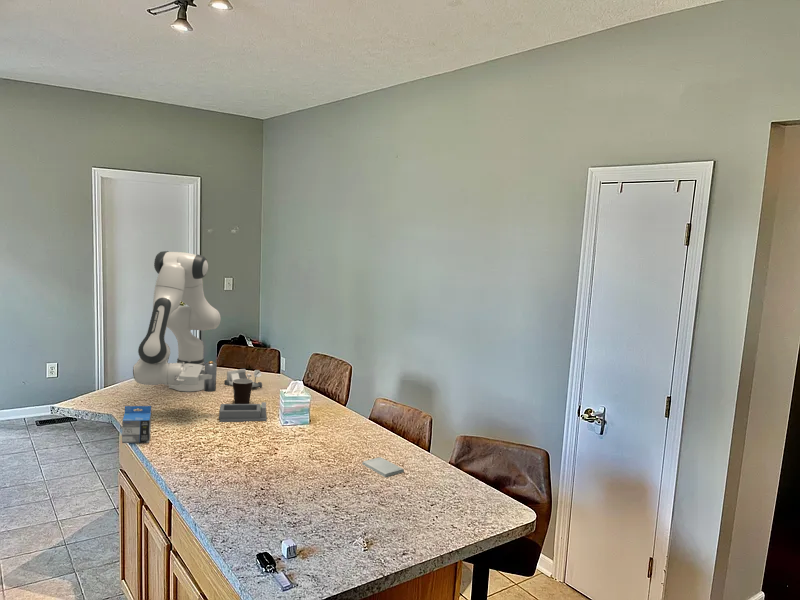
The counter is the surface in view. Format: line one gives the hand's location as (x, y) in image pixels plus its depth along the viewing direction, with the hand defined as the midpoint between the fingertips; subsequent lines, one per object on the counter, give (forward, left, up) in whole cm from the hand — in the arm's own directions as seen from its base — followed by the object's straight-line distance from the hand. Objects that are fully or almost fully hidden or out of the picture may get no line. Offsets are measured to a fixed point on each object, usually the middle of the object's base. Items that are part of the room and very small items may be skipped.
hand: (212, 374), depth 234 cm
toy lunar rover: (-44, +12, -18) cm, 49 cm away
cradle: (+3, +13, -17) cm, 22 cm away
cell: (0, -1, -6) cm, 7 cm away
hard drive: (+58, +60, -18) cm, 85 cm away
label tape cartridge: (+29, -23, -17) cm, 41 cm away
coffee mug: (-18, +12, -17) cm, 28 cm away
